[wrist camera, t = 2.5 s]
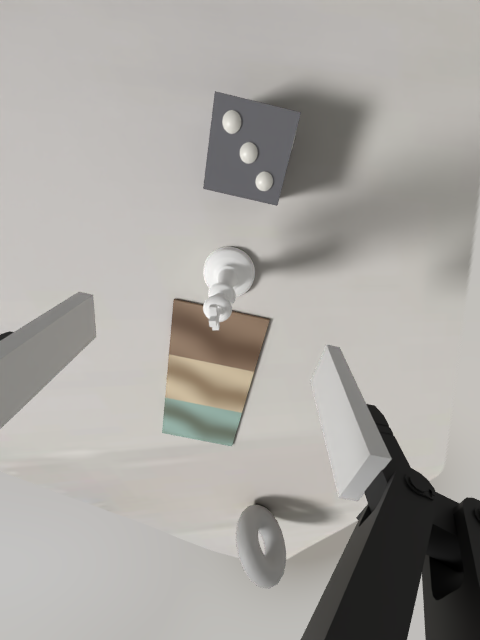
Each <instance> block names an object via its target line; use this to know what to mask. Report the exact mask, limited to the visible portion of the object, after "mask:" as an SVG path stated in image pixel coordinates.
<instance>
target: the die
mask: <svg viewBox="0 0 480 640" xmlns="http://www.w3.org/2000/svg"><path fill="white" fill-rule="evenodd" d="M300 114H301V112H297V111H293V110H289V109H285V108H281V107H277V106H273V105H268V104H264V103H260V102H256V101H252V100H248V99H244V98H240V97H236V96H232V95H228V94H224V93H220V92H216V91H215V96H214V104H213V112H212V121H211V129H210V137H209V146H208V154H207V162H206V171H205V179H204V187H203V189H207V190H211V191H216V192H220V193H224V194H229V195H233V196H237V197H242V198H246V199H250V200H255V201H259V202H263V203H268V204H272V205H276V206H277V205H278V201H279V197H280V193H281V189H282V185H283V181H284V177H285V173H286V170H287V166H288V162H289V158H290V154H291V151H292V148H293V144H294V141H295V136H296V130H297V126H298V122H299V118H300Z"/></svg>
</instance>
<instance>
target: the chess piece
mask: <svg viewBox="0 0 480 640" xmlns="http://www.w3.org/2000/svg"><path fill="white" fill-rule="evenodd" d="M203 273H204V279H205V282H206V284H207V286H208V287H209V292H208V297H209V298H208V299H207V300H206V301H205V302H204V305H203V311H204V314H205V315H206V317H207V318H208V319H209V326H210V327H212V330H219V328H220V324H219V322H223V321H225V320H227V319H228V318H229V317H230V315H231V313H232V306H231V305H232V304H233V303H234V301H235V298H236V297H239V296H241V295H243V294H244V293H246V292H247V291H248V290H249V288H250V287H251V285H252V283H253V281H254V278H255V267H254V264H253V262H252V260H251V258H250V257H249V256H248V255H247V254H246V253H245V252H244V251H242V250H240V249H238V248H235V247H222V248H219V249H217V250H215V251H213V252H212V253H211V254H210V255H209V256H208V258H207V259H206V262H205V265H204V272H203Z"/></svg>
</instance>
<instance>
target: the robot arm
mask: <svg viewBox="0 0 480 640" xmlns="http://www.w3.org/2000/svg"><path fill="white" fill-rule="evenodd" d="M95 337H96V326H95V314H94V301H93V295H91V294H87V293H82V292H78V293H76V294H75V295H73V296H71V297H70V298H68V299H67V300H65V301H63V302H62V303H60V304H59V305H57V306H55V307H54V308H52V309H51V310H49V311H47V312H46V313H44V314H43V315H41V316H39V317H38V318H36V319H35V320H33V321H31V322H30V323H28V324H27V325H25V326H23V327H22V328H20V329H18V330H17V331H15V332H10V331H9V332H6V333H4V334H1V335H0V429H1V428H2V427H3V426H4V425H5V424H6V423H7V422H8V421H9V420H10V419H11V418H12V417H13V416H14V415H15V414H16V413H17V412H19V411H20V410H21V409H22V408H23V407H24V406H25V405H26V404H27V403H28V402H29V401H30V400H31V399H32V398H33V397H34V396H35V395H36V394H37V393H38V392H39V391H40V390H41V389H42V388H43V387H45V386H46V385H47V384H48V383H49V382H50V381H51V380H52V379H53V378H54V377H55V376H56V375H57V374H58V373H59V372H60V371H61V370H62V369H63V368H64V367H65V366H66V365H67V364H68V363H69V362H71V361H72V360H73V359H74V358H75V357H76V356H77V355H78V354H79V353H80V352H81V351H82V350H83V349H84V348H85V347H86V346H87V345H88V344H89V343H90V342H91V341H92V340H93V339H94V338H95ZM310 382H311V386H312V390H313V394H314V398H315V403H316V407H317V411H318V415H319V419H320V423H321V427H322V431H323V435H324V439H325V443H326V447H327V452H328V456H329V460H330V464H331V468H332V472H333V476H334V480H335V484H336V488H337V492H338V496H339V498H343V499H348V500H354V501H358V500H359V499H360V498H361V497H362V495H363V494H364V493H365V495H366V498H367V501H368V505H367V506H366V507H365V508H364V509H363V511H362V512H361V513H360V514H359V515H358V516H357V519H358V520H359V521H358V523H357V525H356V527H355V529H354V531H353V533H352V535H351V537H350V539H349V542H348V544H347V545H346V548H345V550H344V552H343V554H342V556H341V558H340V560H339V562H338V564H337V566H336V568H335V570H334V572H333V574H332V576H331V579H330V581H329V583H328V585H327V587H326V589H325V591H324V593H323V595H322V597H321V599H320V602H319V604H318V606H317V607H316V610H315V612H314V614H313V616H312V618H311V620H310V622H309V624H308V626H307V628H306V630H305V632H304V634H303V636H302V638H301V640H407V636H408V632H409V627H410V623H411V618H412V614H413V609H414V605H415V601H416V596H417V591H418V587H419V582H420V578H421V574H422V581H423V599H424V617H425V635H426V640H480V501H479V500H477V499H475V498H466V499H464V500H463V501H462V502H461V503H460V504H459V503H457V502H455V501H453V500H451V499H449V498H447V497H445V496H443V495H441V494H439V493H437V492H435V490H434V488H433V486H432V485H431V484H430V482H429V481H428V480H427V479H426V478H425V477H424V476H423V475H422V474H420V473H419V472H417V471H415V470H414V469H412V468H411V467H410V465H409V463H408V462H407V460H406V458H405V456H404V454H403V452H402V450H401V448H400V446H399V444H398V442H397V440H396V438H395V436H393V433H392V431H391V429H390V428H389V425H388V423H387V421H386V419H385V417H384V415H383V414H382V413H381V412H380V411H379V410H378V409H377V408H376V407H375V406H374V405H369V404H366V403H365V401H364V398H363V396H362V394H361V392H360V390H359V388H358V386H357V383H356V381H355V379H354V377H353V375H352V373H351V371H350V369H349V366H348V364H347V362H346V360H345V358H344V356H343V354H342V351H341V349H340V347H336V346H331V345H326V347H325V349H324V351H323V353H322V356H321V358H320V360H319V362H318V365H317V367H316V369H315V371H314V374H313V376H312V378H311V380H310Z"/></svg>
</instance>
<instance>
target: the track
mask: <svg viewBox="0 0 480 640" xmlns="http://www.w3.org/2000/svg"><path fill="white" fill-rule="evenodd" d="M269 321H270V320H269V319H267V318H262V317H257V316H253V315H248V314H243V313H239V312H234V311H232V313H231V315H230V317H229V318H228V319H227V320H225V321H223V322H219V324H220V328H219V330H212V327H210V326H209V319H208V318H207V317H206V315H205V314H204V311H203V305H201V304H197V303H192V302H187V301H182V300H178V299H174V303H173V314H172V326H171V337H170V349H169V361H168V372H167V384H166V395H165V407H164V418H163V430H162V433H166V434H171V435H176V436H181V437H186V438H191V439H197V440H202V441H207V442H212V443H217V444H222V445H228V446H232V444H233V441H234V438H235V434H236V431H237V427H238V424H239V421H240V417H241V414H242V411H243V407H244V404H245V401H246V397H247V394H248V391H249V387H250V384H251V381H252V377H253V374H254V371H255V367H256V364H257V361H258V357H259V354H260V351H261V347H262V344H263V341H264V337H265V334H266V331H267V327H268V324H269Z"/></svg>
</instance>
